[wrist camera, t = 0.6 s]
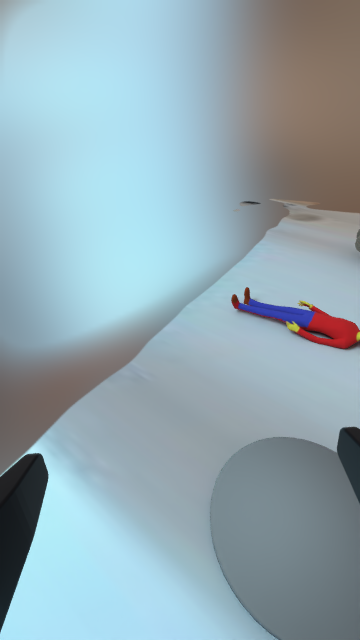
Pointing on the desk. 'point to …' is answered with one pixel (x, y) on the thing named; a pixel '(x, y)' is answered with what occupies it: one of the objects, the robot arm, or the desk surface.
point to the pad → (290, 538)
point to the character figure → (305, 321)
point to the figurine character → (358, 241)
